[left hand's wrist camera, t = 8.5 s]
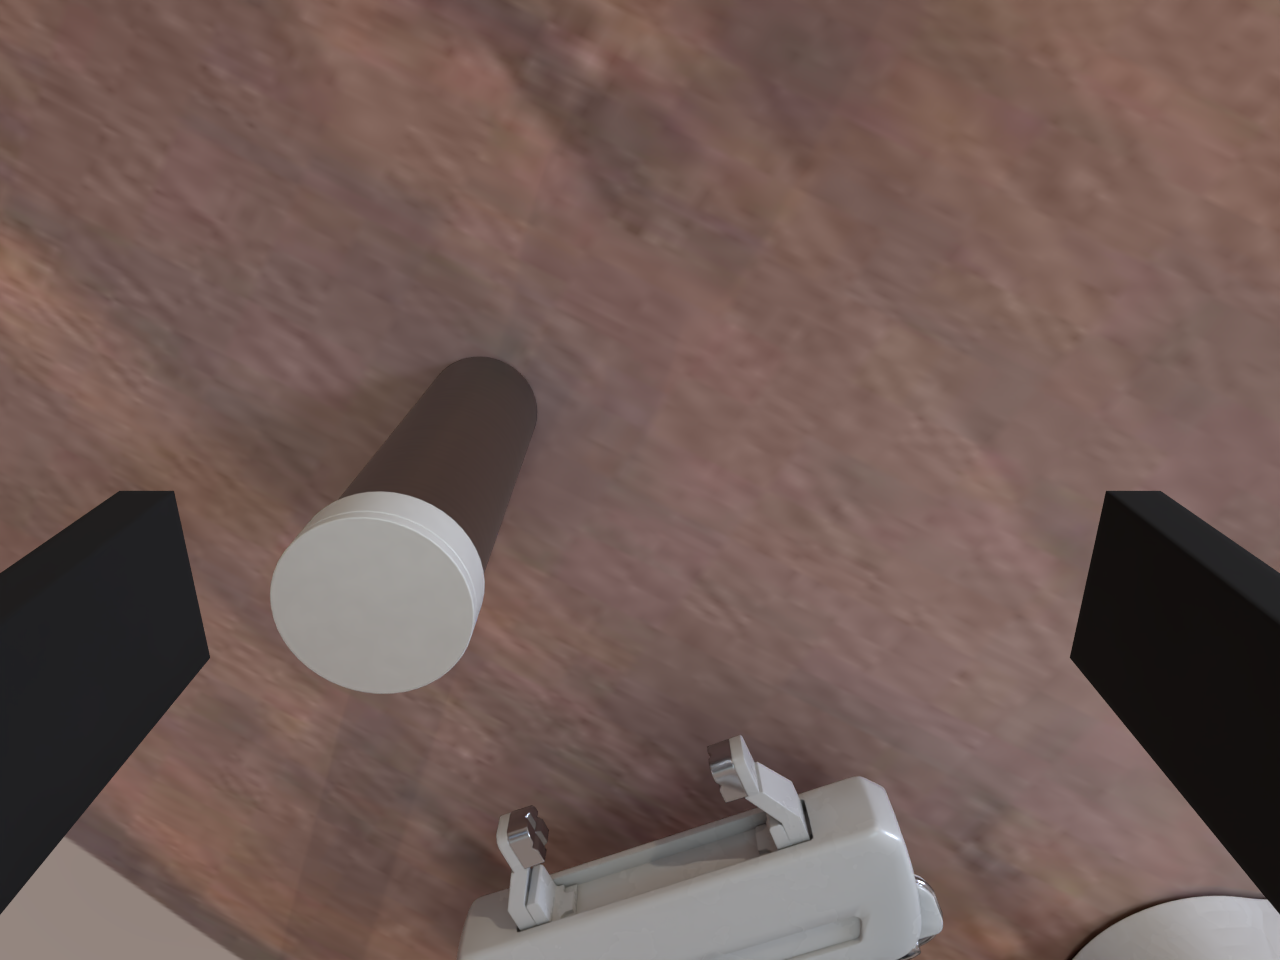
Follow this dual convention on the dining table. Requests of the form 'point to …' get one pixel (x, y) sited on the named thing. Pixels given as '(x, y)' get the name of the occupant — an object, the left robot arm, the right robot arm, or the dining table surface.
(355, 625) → the lid
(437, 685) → the dining table surface
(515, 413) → the jar
